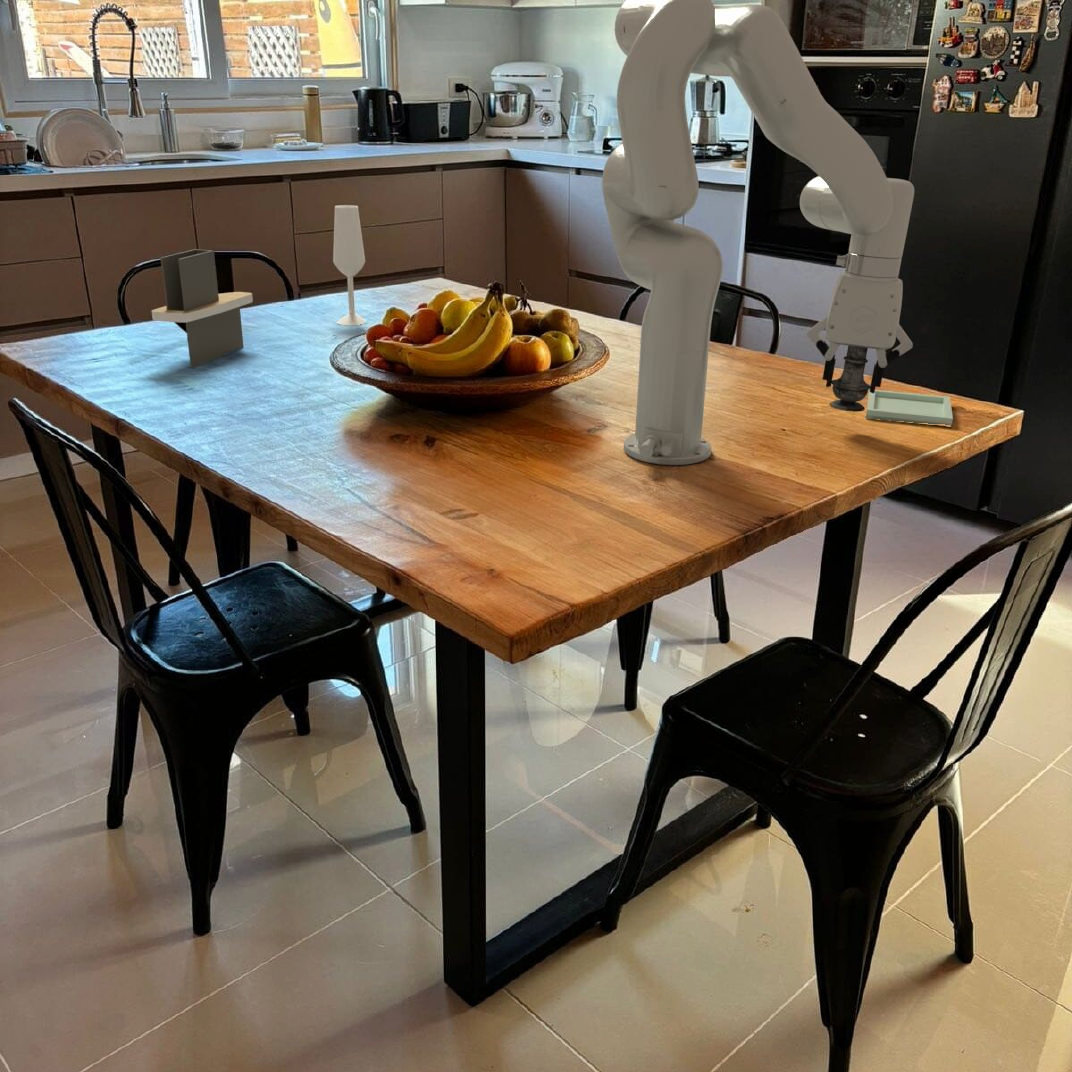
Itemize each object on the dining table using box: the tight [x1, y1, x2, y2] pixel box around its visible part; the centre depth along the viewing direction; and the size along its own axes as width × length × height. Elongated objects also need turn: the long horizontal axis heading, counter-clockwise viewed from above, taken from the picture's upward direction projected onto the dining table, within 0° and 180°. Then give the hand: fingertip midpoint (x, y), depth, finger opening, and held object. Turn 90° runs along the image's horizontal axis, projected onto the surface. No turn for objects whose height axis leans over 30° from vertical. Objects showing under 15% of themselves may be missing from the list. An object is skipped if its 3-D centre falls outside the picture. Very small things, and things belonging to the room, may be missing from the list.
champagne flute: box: [332, 204, 367, 326], centre depth 222 cm, size 7×7×24 cm
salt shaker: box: [828, 346, 871, 413], centre depth 159 cm, size 6×6×12 cm
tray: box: [865, 389, 954, 425], centre depth 173 cm, size 13×13×2 cm
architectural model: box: [151, 248, 254, 369], centre depth 194 cm, size 38×25×20 cm, turn 163°
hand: (850, 387), depth 160 cm, fingers closed on salt shaker, 5 cm apart
